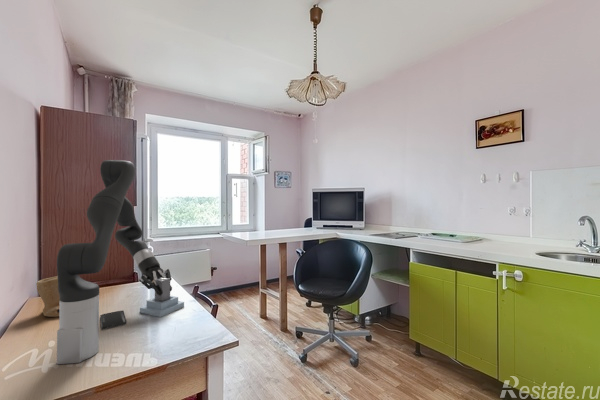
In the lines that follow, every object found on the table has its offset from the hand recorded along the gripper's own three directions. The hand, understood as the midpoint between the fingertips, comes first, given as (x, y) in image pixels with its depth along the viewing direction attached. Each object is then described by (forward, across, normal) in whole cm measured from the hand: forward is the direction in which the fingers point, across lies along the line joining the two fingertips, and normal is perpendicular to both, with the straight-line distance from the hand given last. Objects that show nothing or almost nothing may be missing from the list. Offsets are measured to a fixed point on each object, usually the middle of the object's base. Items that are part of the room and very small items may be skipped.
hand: (165, 292), depth 115 cm
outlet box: (+4, 0, +7) cm, 8 cm away
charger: (+2, 0, +5) cm, 5 cm away
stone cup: (-23, -20, +34) cm, 45 cm away
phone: (-2, -15, +13) cm, 20 cm away
